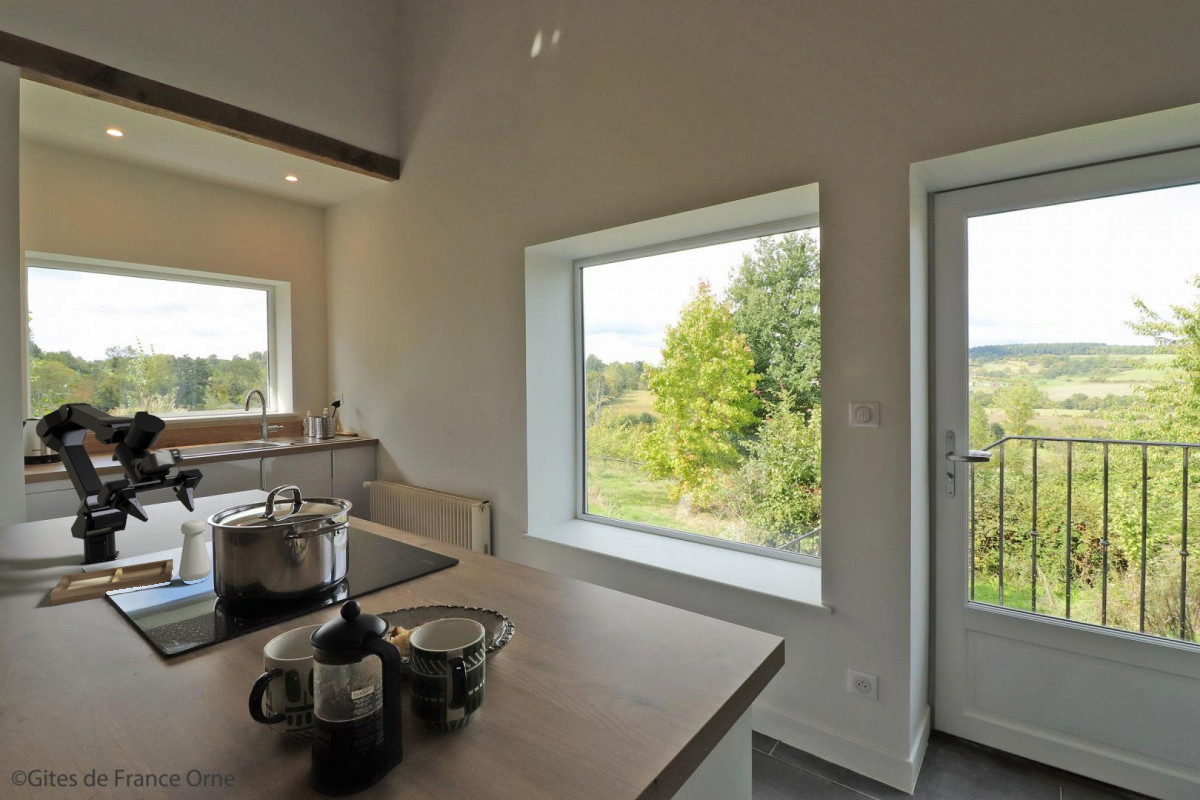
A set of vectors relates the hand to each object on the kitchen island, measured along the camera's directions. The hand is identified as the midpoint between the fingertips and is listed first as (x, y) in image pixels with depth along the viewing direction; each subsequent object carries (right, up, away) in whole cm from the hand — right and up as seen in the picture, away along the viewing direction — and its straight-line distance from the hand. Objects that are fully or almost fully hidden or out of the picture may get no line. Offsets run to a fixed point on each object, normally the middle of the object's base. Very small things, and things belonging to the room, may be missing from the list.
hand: (170, 515), depth 124 cm
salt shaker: (+7, -14, -2) cm, 16 cm away
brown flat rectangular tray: (-7, -14, -5) cm, 16 cm away
